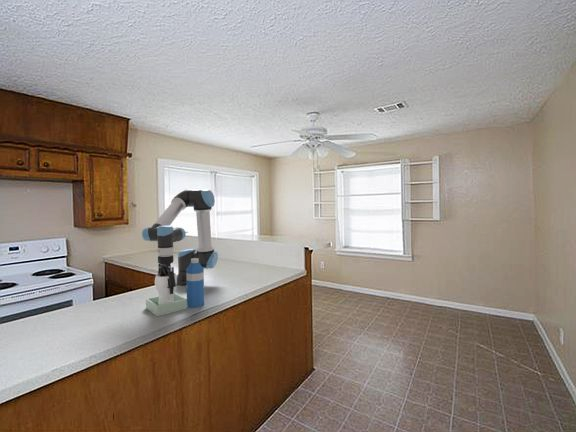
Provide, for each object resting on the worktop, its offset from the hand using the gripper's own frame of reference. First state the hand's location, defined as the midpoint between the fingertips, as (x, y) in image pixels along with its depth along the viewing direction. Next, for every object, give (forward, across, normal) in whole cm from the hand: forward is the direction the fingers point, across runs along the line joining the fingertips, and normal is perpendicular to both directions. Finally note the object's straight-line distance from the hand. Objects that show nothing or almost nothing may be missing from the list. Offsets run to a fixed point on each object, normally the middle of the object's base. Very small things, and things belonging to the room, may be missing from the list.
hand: (166, 297), depth 151 cm
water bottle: (+6, +5, +14) cm, 16 cm away
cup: (+3, 0, 0) cm, 3 cm away
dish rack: (+6, 0, 0) cm, 6 cm away
